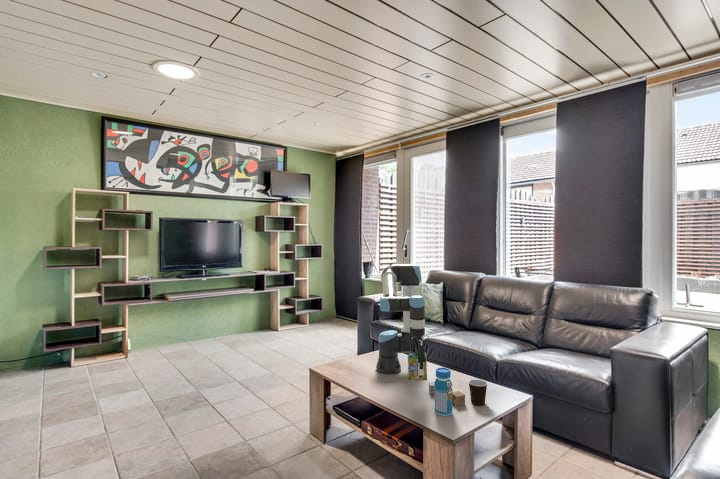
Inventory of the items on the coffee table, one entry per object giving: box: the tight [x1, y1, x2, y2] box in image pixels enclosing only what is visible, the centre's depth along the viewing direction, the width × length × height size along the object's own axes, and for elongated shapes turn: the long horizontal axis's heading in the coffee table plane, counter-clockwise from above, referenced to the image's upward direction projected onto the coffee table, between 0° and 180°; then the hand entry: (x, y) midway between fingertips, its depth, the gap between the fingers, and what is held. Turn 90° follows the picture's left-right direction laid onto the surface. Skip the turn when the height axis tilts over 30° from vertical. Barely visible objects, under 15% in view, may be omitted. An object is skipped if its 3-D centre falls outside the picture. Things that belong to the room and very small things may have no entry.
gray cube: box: [428, 381, 435, 396], centre depth 202 cm, size 5×5×5 cm
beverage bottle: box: [434, 367, 454, 417], centre depth 180 cm, size 8×8×20 cm
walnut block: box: [452, 390, 466, 408], centre depth 189 cm, size 5×5×5 cm
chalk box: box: [407, 347, 428, 381], centre depth 193 cm, size 9×9×15 cm
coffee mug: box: [468, 379, 488, 407], centre depth 191 cm, size 12×9×10 cm
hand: (417, 371), depth 193 cm, fingers closed on chalk box, 11 cm apart
